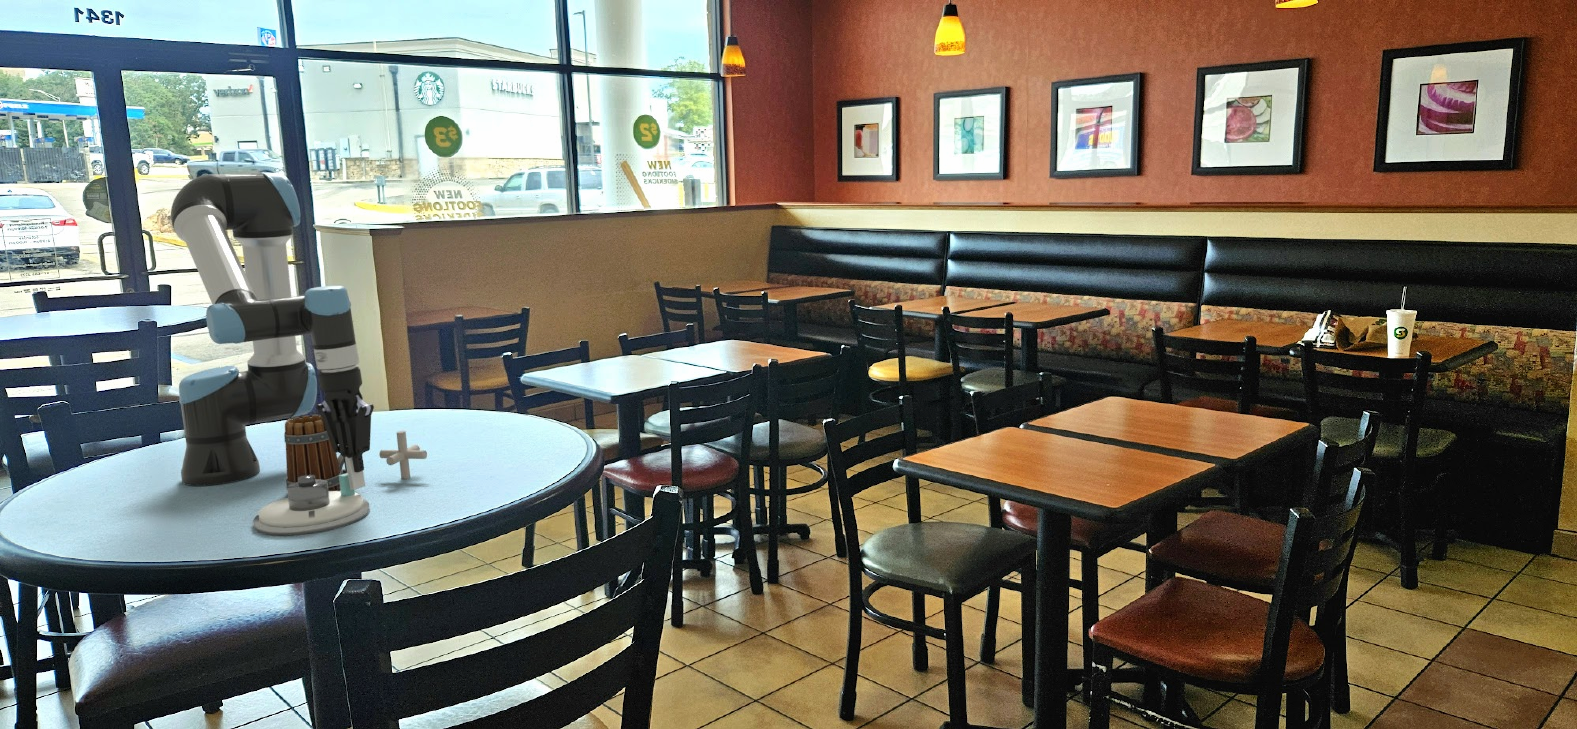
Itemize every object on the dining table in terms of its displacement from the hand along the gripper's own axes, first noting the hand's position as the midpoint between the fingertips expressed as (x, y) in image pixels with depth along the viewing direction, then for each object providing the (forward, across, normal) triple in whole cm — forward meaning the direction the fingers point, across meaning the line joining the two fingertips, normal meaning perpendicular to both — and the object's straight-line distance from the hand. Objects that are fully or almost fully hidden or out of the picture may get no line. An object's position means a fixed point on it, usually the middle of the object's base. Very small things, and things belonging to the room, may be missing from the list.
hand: (357, 487), depth 208 cm
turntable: (+2, -3, -9) cm, 9 cm away
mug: (+4, -18, +8) cm, 20 cm away
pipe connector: (+4, -7, +18) cm, 20 cm away
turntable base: (+3, -3, -9) cm, 10 cm away
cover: (+1, -3, -9) cm, 9 cm away
